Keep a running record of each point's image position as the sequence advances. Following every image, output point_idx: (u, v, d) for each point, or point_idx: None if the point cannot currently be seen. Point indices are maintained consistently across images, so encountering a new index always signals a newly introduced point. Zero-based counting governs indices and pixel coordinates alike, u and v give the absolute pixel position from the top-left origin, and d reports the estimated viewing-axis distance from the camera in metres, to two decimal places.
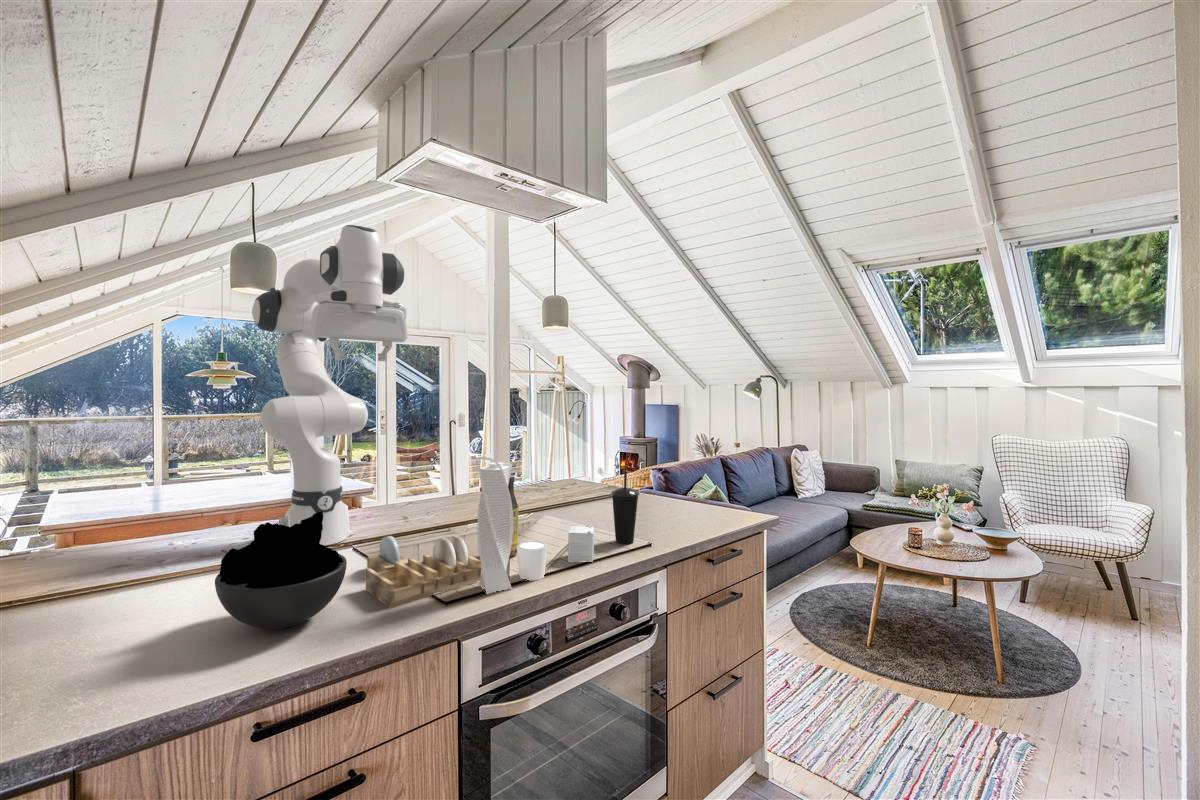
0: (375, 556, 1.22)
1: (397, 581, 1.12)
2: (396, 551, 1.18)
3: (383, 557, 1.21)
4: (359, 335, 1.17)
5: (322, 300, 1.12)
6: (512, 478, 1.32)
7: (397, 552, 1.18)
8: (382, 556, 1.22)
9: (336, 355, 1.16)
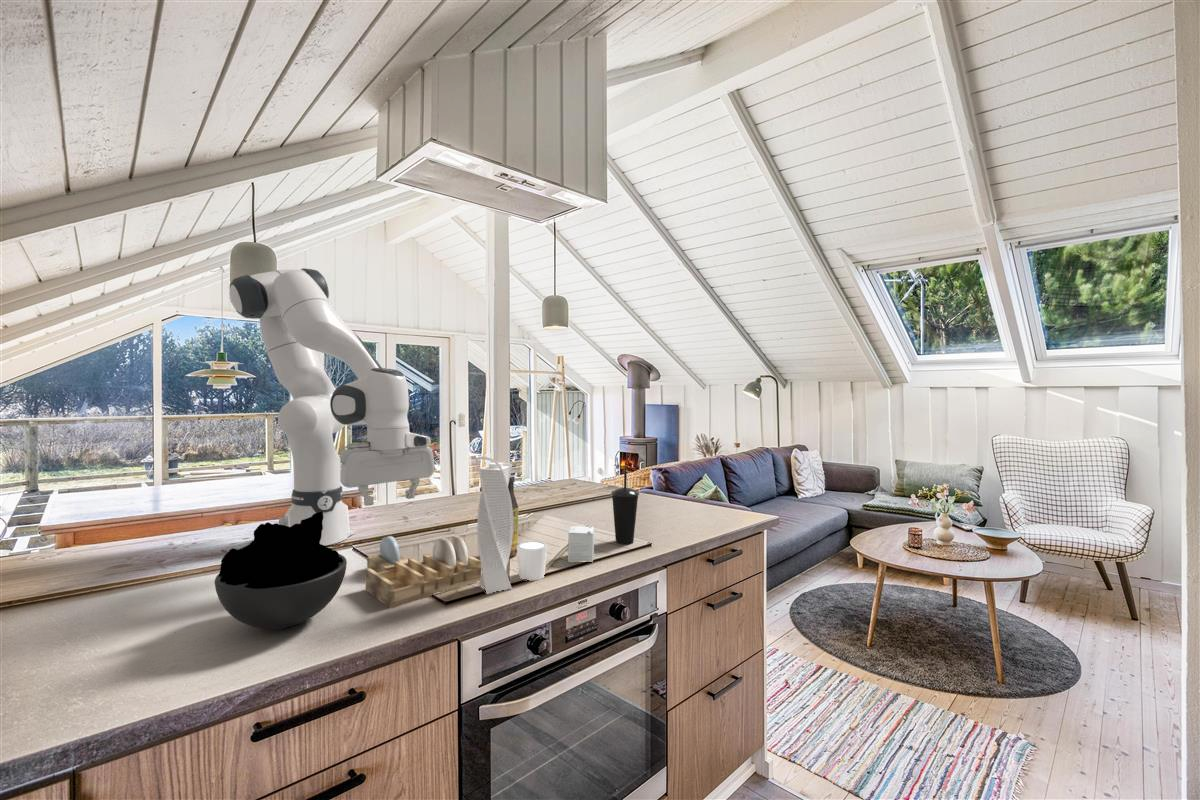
0: (375, 556, 1.22)
1: (397, 581, 1.12)
2: (396, 552, 1.18)
3: (383, 557, 1.21)
4: None
5: None
6: (512, 478, 1.32)
7: (397, 553, 1.18)
8: (382, 556, 1.22)
9: None
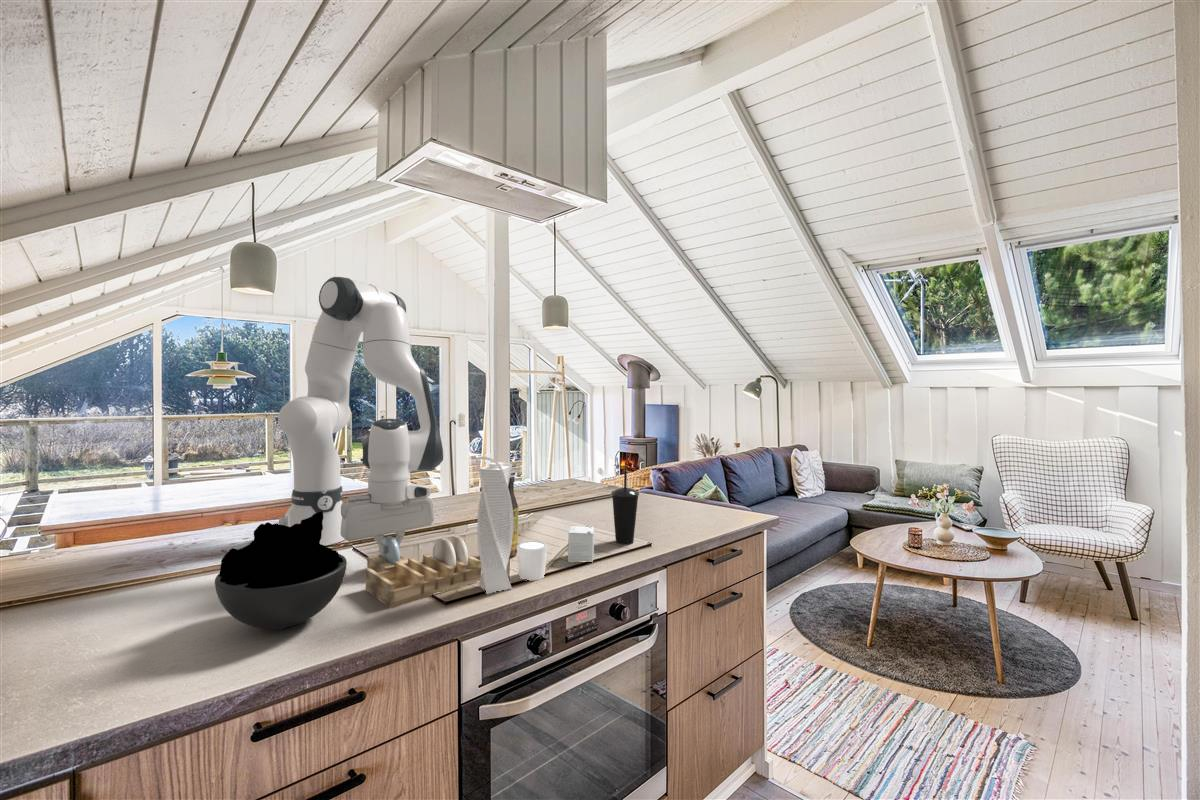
0: (375, 556, 1.22)
1: (397, 581, 1.12)
2: (397, 553, 1.17)
3: (383, 557, 1.21)
4: None
5: None
6: (512, 478, 1.32)
7: (398, 554, 1.18)
8: (382, 556, 1.22)
9: None
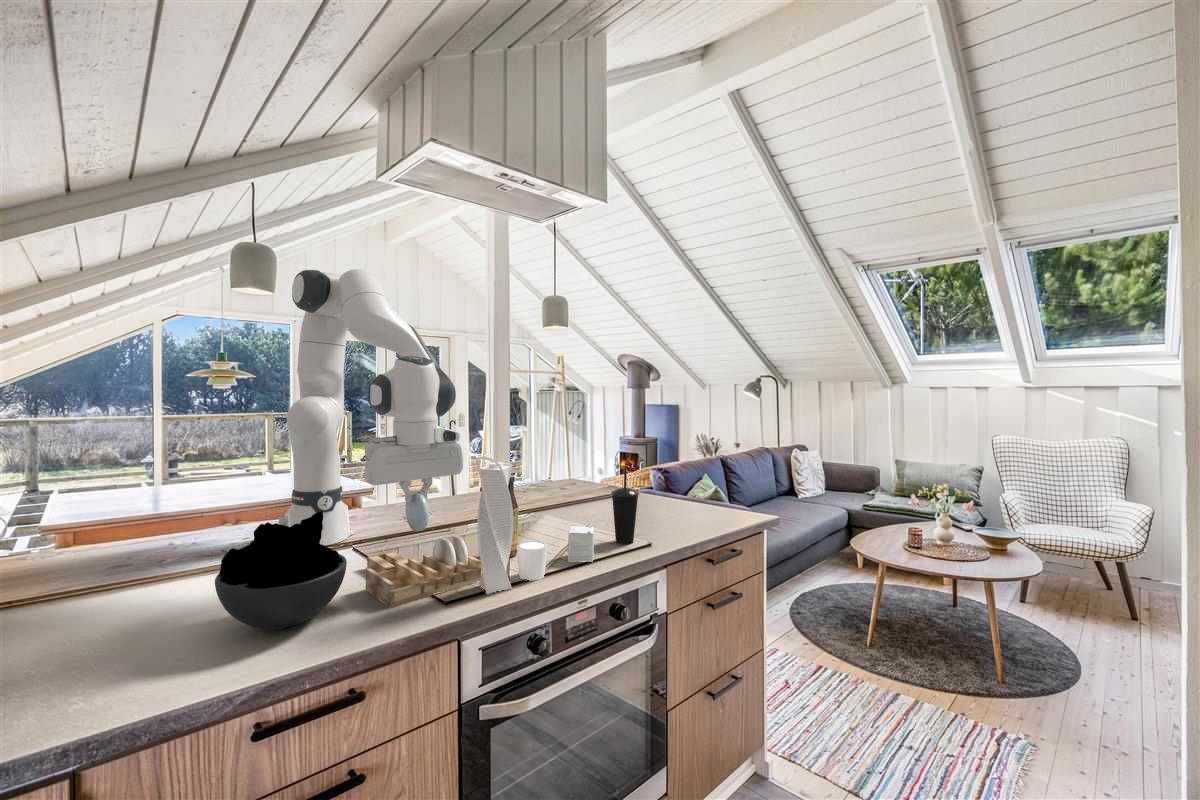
0: (375, 556, 1.22)
1: (397, 581, 1.12)
2: (425, 510, 1.08)
3: (409, 514, 1.12)
4: None
5: None
6: (512, 478, 1.32)
7: (426, 511, 1.08)
8: (408, 512, 1.12)
9: None
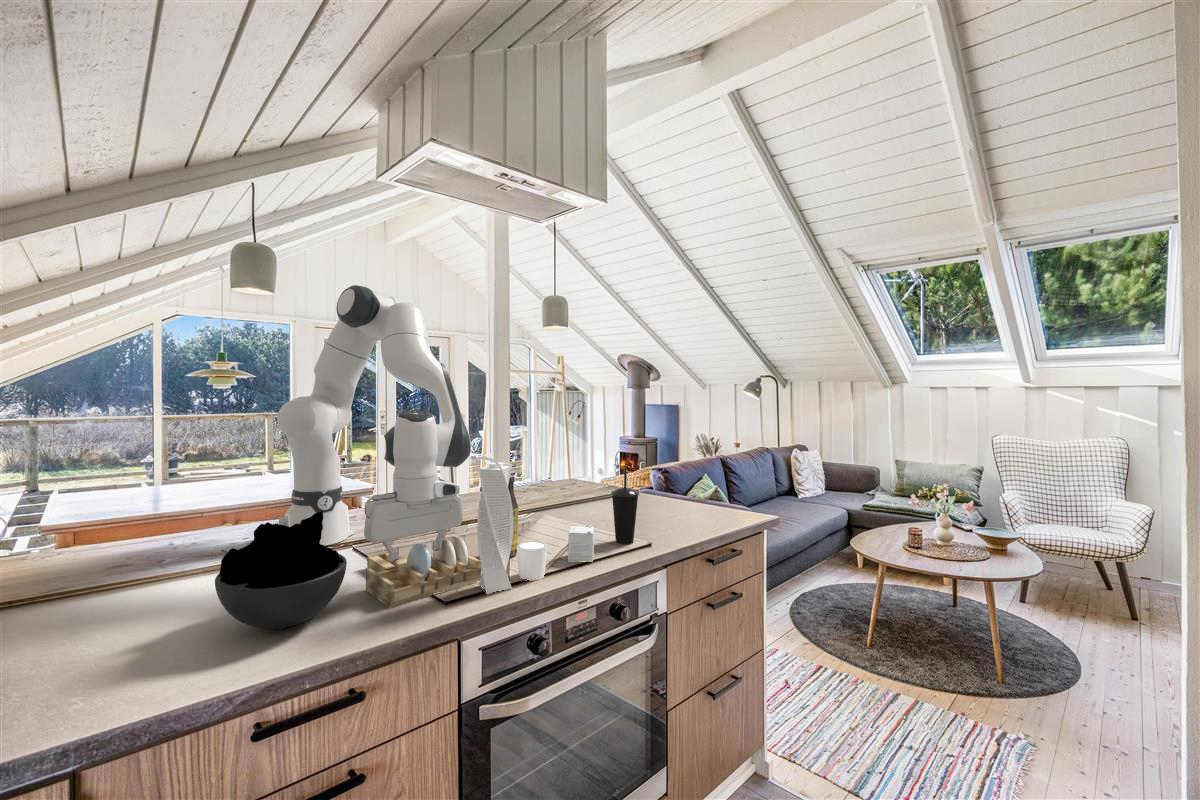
0: (375, 556, 1.22)
1: (397, 581, 1.12)
2: (428, 563, 1.09)
3: (410, 565, 1.12)
4: None
5: None
6: (512, 478, 1.32)
7: (428, 564, 1.09)
8: (409, 563, 1.13)
9: None
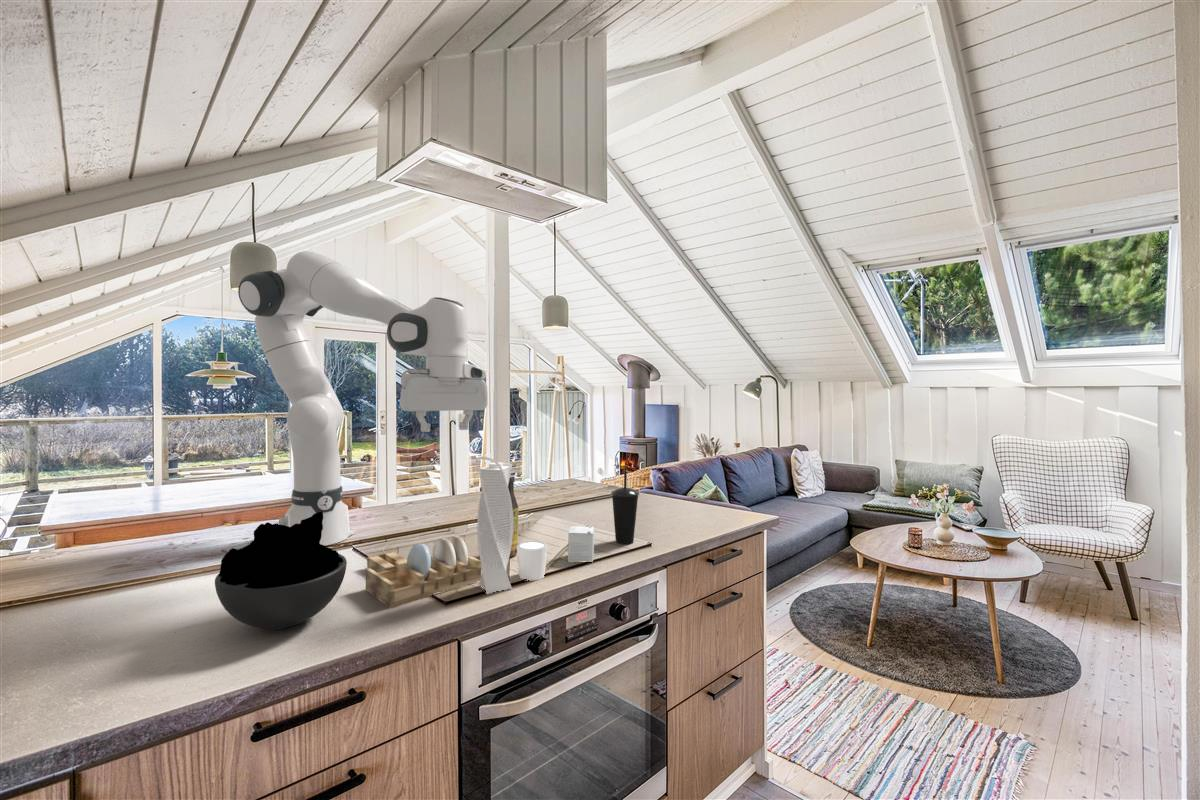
0: (375, 556, 1.22)
1: (397, 581, 1.12)
2: (428, 563, 1.09)
3: (410, 565, 1.12)
4: None
5: None
6: (512, 478, 1.32)
7: (428, 564, 1.09)
8: (409, 563, 1.13)
9: None
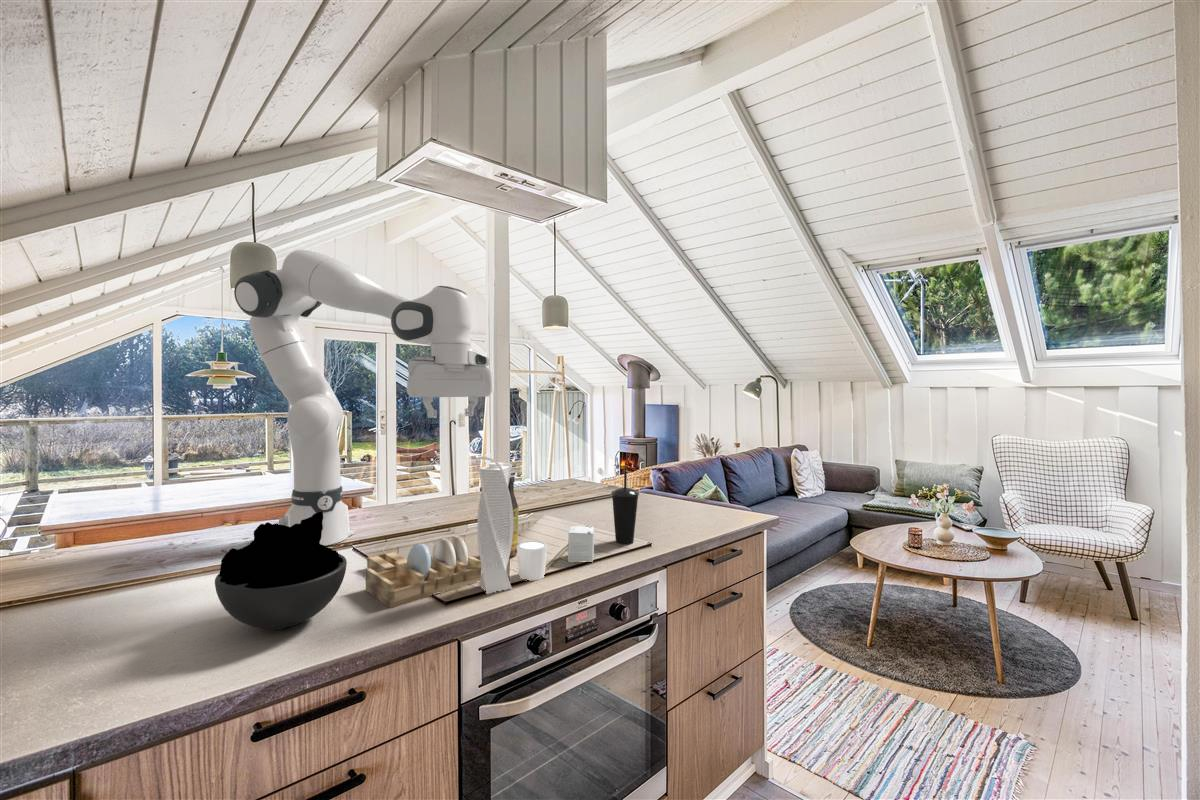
0: (375, 556, 1.22)
1: (397, 581, 1.12)
2: (428, 563, 1.09)
3: (410, 565, 1.12)
4: None
5: None
6: (512, 478, 1.32)
7: (428, 564, 1.09)
8: (409, 563, 1.13)
9: None
